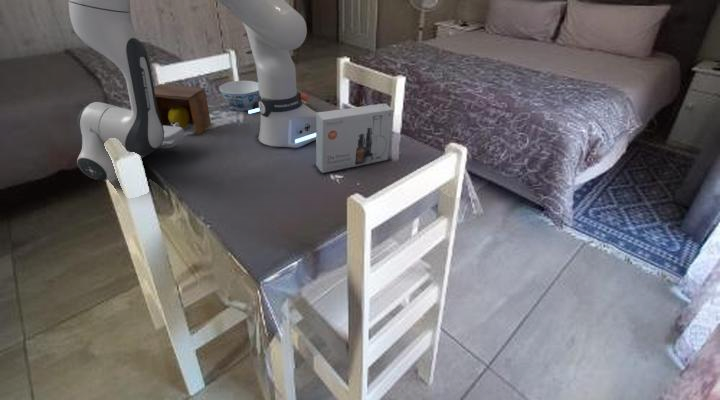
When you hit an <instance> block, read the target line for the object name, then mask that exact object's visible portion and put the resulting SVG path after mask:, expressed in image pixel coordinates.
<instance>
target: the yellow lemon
mask: <svg viewBox="0 0 720 400" xmlns="http://www.w3.org/2000/svg"><path fill="white" fill-rule="evenodd" d="M168 119H169V121H170V122H169V123H170V125H171V124H172V123H173V122H176V123H179V126H180V127H182V128H183V130H184V129H187V127H188V125H190V124H189V121H190V115H189V112H188V110H187V109H186V108H184V107H181V106H176V107H173V108H171V109H170V111H169V113H168Z"/></svg>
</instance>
